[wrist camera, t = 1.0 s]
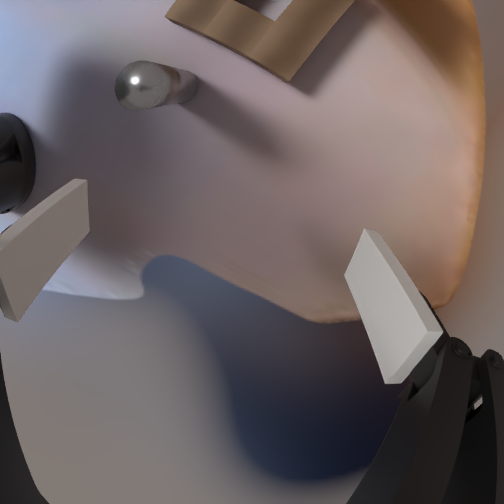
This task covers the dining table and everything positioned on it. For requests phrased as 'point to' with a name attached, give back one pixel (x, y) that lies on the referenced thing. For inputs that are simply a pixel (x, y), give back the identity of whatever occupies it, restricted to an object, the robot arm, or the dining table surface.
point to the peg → (154, 85)
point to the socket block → (262, 29)
